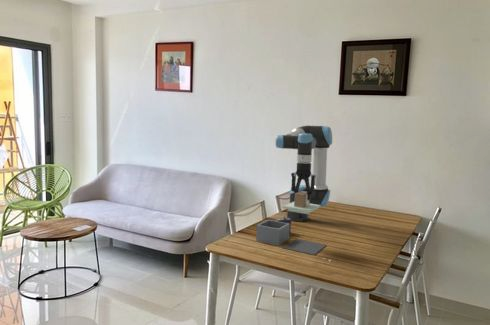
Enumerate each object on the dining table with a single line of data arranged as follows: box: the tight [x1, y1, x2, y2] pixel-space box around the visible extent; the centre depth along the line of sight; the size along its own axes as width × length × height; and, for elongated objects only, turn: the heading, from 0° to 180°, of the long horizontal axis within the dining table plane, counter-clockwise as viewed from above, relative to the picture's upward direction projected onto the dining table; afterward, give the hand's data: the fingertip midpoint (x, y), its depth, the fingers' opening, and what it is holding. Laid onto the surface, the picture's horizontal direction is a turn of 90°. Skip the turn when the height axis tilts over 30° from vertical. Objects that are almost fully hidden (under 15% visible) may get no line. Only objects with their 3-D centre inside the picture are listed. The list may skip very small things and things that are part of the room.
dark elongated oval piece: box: [276, 215, 292, 235], centre depth 237 cm, size 9×3×11 cm, turn 109°
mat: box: [282, 238, 327, 256], centre depth 214 cm, size 18×18×1 cm
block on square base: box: [282, 191, 321, 215], centre depth 213 cm, size 15×15×10 cm
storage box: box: [255, 219, 290, 246], centre depth 225 cm, size 14×14×9 cm
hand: (301, 205), depth 213 cm, fingers closed on block on square base, 5 cm apart
